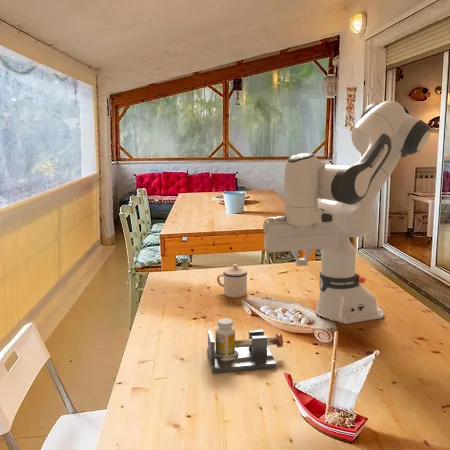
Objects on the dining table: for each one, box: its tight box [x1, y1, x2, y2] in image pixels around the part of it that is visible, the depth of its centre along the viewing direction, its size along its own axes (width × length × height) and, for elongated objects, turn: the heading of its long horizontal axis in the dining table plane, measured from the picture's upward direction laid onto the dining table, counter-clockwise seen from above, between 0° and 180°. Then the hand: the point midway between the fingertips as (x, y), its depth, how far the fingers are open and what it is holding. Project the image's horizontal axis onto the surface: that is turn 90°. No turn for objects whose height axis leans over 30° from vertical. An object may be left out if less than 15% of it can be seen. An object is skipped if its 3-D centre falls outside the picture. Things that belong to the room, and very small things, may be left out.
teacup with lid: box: [216, 263, 248, 299], centre depth 188 cm, size 12×9×12 cm
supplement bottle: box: [214, 317, 236, 357], centre depth 135 cm, size 5×5×10 cm
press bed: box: [206, 329, 277, 375], centre depth 136 cm, size 17×14×8 cm
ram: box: [235, 333, 284, 348], centre depth 136 cm, size 13×4×4 cm, turn 98°
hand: (301, 265), depth 134 cm, fingers closed
